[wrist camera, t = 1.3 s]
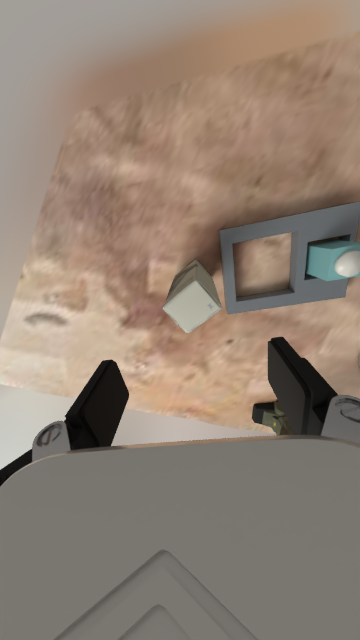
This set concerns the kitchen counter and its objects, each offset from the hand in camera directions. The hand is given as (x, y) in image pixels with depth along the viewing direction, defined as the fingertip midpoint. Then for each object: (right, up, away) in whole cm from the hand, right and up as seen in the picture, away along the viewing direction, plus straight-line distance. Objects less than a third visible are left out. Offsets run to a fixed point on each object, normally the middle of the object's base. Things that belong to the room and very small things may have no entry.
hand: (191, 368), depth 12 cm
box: (+1, +10, +20) cm, 23 cm away
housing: (+15, +12, +18) cm, 26 cm away
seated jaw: (+21, +13, +17) cm, 30 cm away
